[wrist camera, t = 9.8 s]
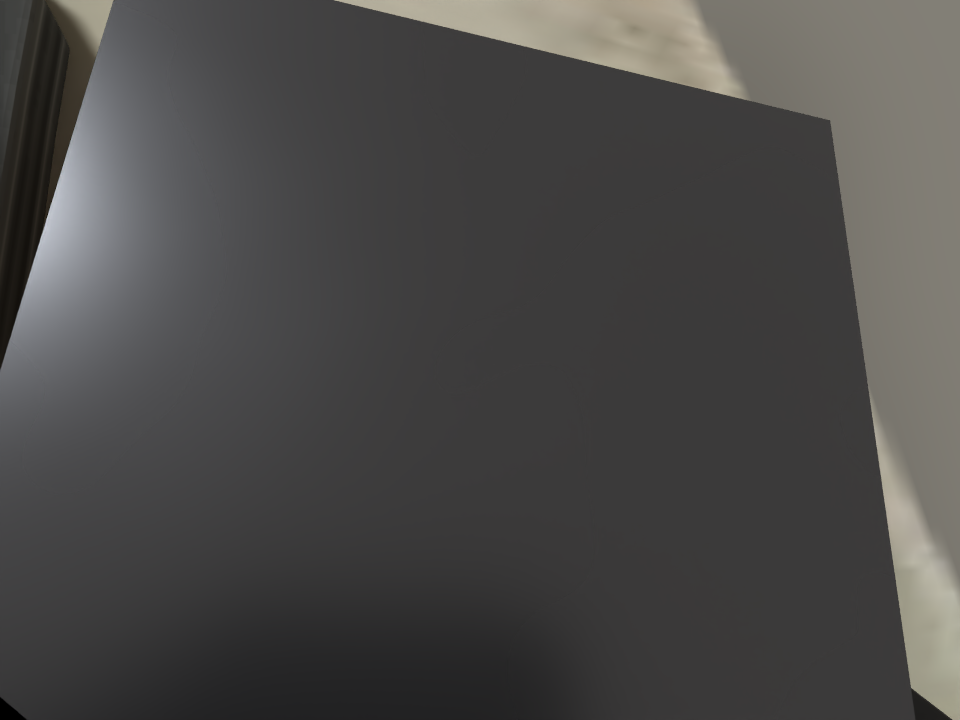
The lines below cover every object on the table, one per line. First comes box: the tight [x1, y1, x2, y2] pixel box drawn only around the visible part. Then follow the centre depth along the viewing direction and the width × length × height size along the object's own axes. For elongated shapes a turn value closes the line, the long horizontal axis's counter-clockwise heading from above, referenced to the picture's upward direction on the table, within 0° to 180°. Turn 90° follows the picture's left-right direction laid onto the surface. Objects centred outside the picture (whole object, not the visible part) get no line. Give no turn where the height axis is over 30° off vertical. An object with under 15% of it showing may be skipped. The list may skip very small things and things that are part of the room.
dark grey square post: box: [0, 0, 915, 720], centre depth 9 cm, size 4×4×14 cm
